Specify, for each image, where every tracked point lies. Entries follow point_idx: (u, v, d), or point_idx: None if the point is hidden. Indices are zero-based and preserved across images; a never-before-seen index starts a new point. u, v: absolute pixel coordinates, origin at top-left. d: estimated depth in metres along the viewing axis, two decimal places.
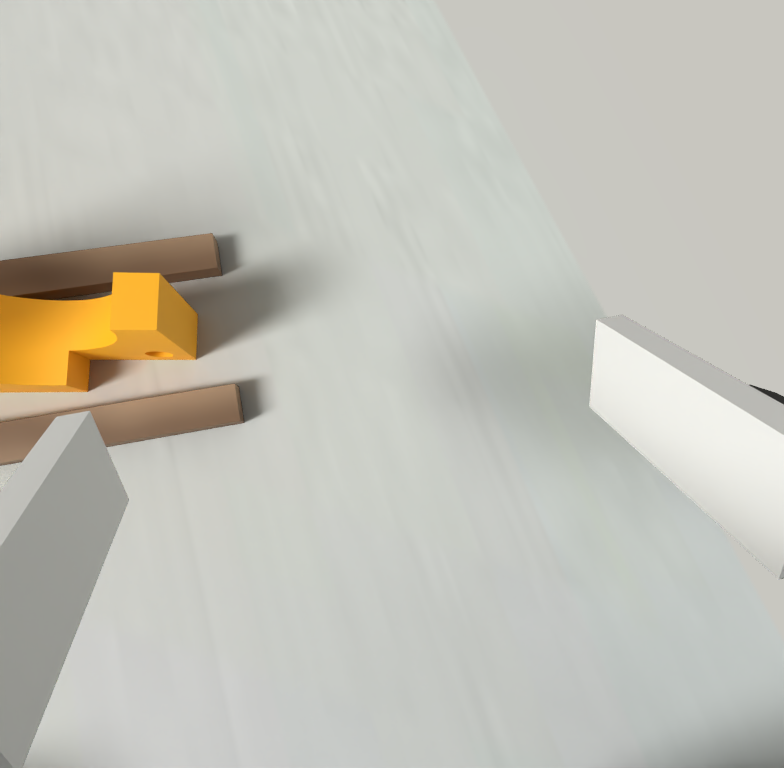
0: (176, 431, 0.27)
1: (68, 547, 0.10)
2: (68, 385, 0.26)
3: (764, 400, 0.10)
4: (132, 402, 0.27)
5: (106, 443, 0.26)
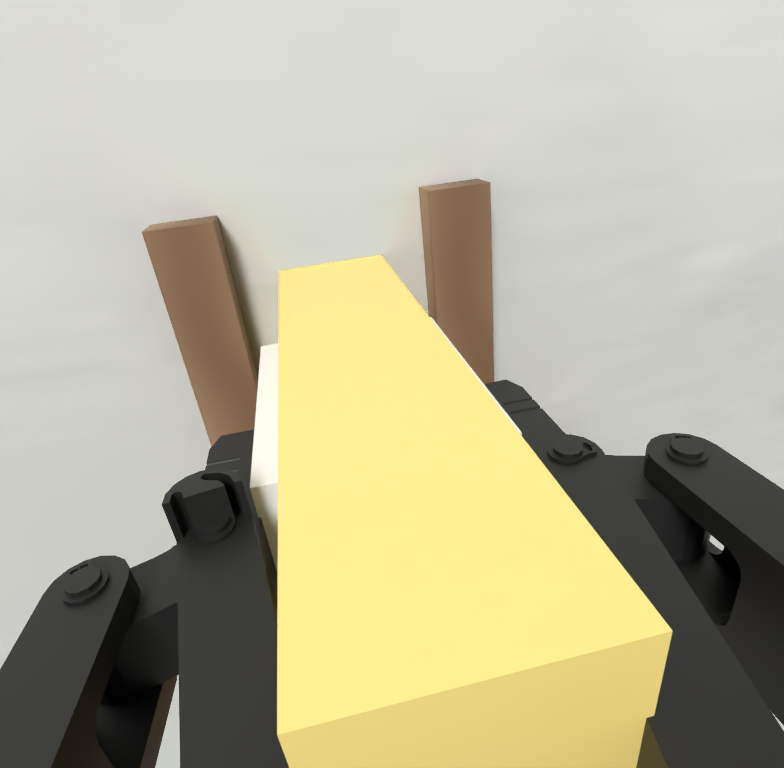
0: None
1: None
2: None
3: None
4: None
5: None
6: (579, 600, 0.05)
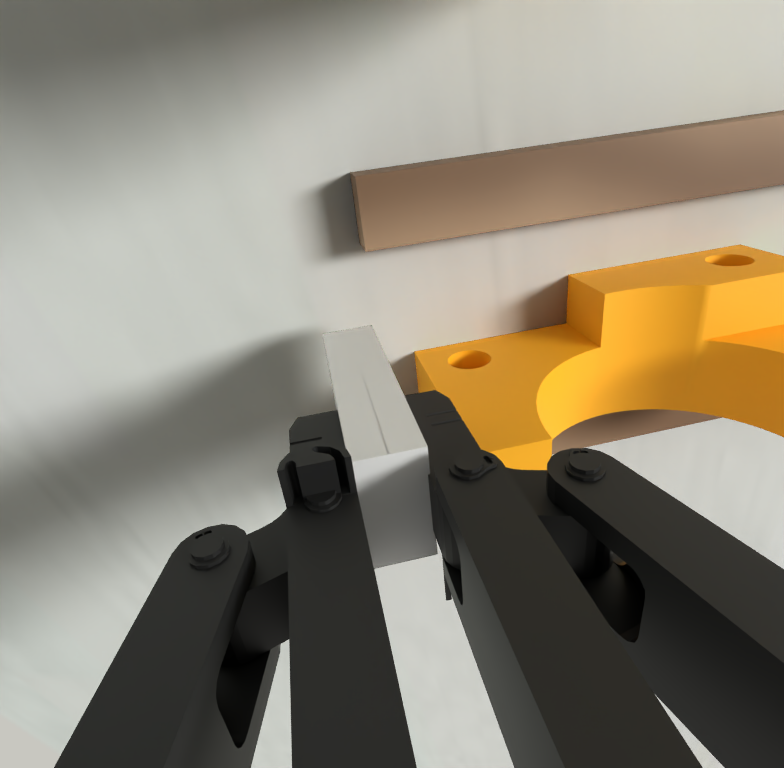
0: (471, 160, 0.14)
1: None
2: (600, 292, 0.16)
3: (399, 404, 0.11)
4: (538, 220, 0.15)
5: (589, 144, 0.15)
6: None
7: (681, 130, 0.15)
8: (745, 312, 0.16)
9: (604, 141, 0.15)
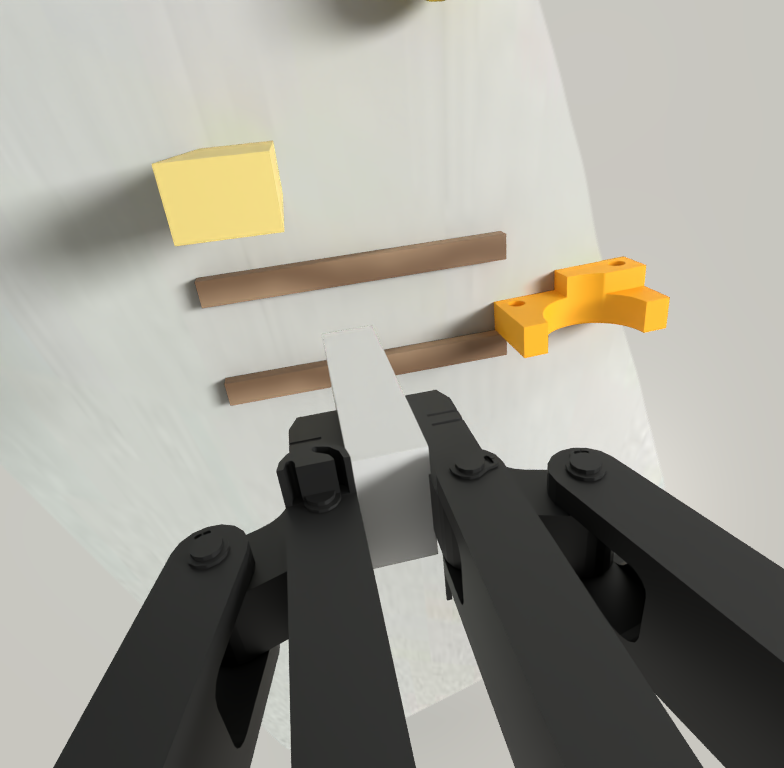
0: (239, 275, 0.39)
1: None
2: (566, 276, 0.43)
3: (400, 404, 0.11)
4: (271, 295, 0.40)
5: (285, 268, 0.39)
6: (281, 216, 0.25)
7: (323, 262, 0.39)
8: (619, 283, 0.43)
9: (291, 267, 0.39)
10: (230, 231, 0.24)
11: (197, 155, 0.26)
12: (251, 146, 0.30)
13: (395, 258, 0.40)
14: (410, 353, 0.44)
